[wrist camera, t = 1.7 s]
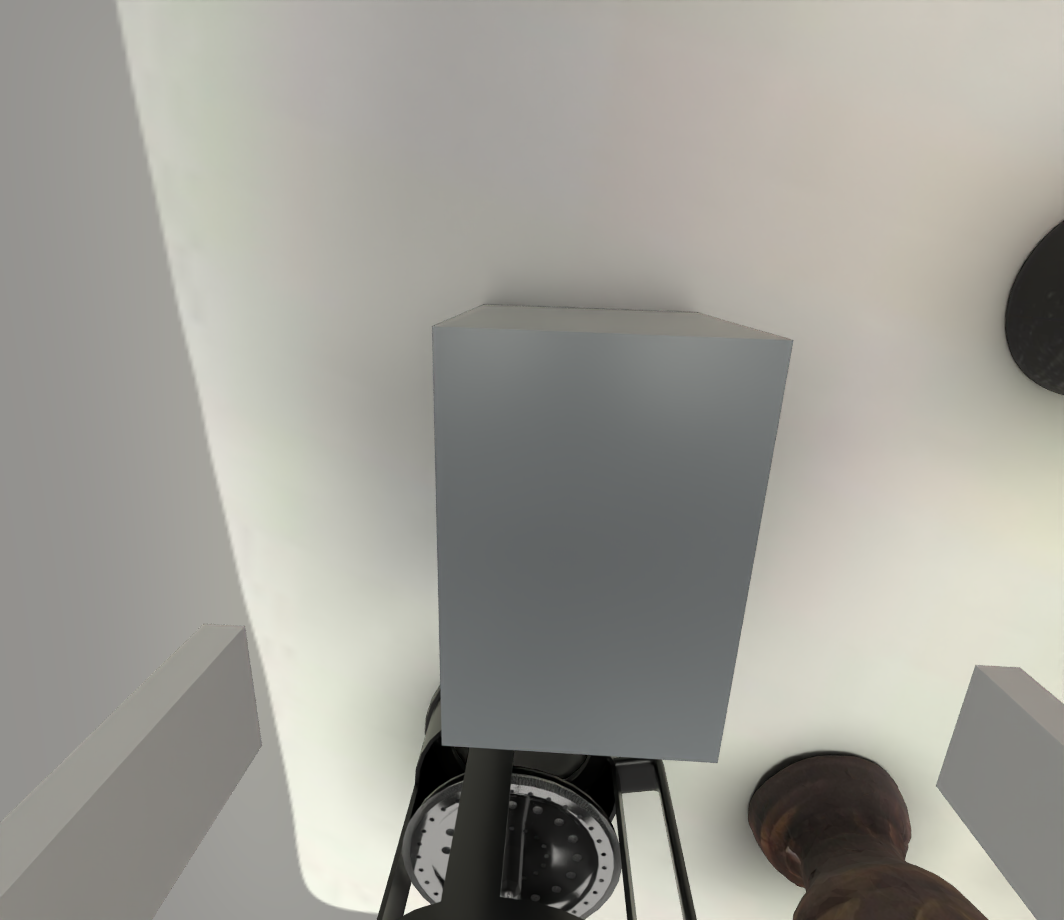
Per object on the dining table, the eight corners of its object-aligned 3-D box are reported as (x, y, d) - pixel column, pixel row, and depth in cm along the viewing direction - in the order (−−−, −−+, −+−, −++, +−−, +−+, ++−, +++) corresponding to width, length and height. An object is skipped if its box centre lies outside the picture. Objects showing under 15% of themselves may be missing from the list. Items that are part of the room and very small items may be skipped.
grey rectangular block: (483, 304, 21) (432, 326, 13) (697, 312, 21) (793, 339, 12) (482, 583, 25) (441, 745, 16) (662, 593, 25) (717, 763, 16)
